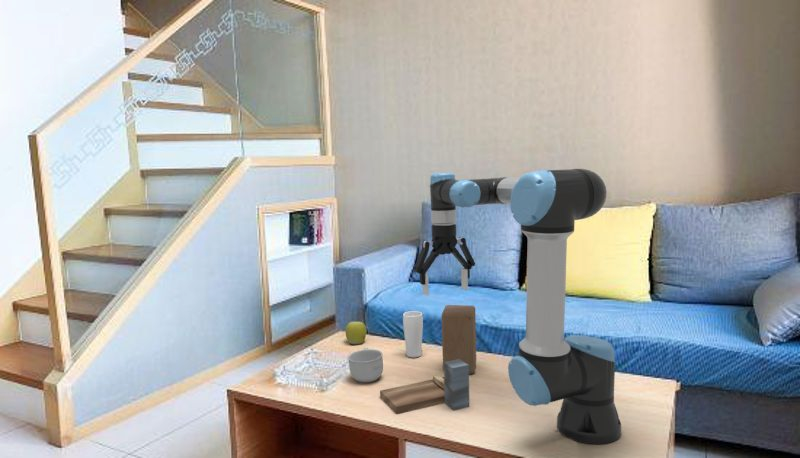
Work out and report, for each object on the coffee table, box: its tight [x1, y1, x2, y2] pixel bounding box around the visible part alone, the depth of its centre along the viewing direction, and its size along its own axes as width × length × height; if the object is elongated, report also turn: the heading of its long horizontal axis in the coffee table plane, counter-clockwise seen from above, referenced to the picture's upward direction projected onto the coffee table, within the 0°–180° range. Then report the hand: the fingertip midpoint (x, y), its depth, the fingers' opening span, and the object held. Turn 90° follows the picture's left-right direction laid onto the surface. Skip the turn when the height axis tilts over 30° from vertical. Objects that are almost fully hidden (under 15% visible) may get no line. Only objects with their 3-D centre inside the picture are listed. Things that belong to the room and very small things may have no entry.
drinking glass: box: [402, 310, 424, 359], centre depth 194 cm, size 7×7×15 cm
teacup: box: [347, 347, 384, 384], centre depth 177 cm, size 14×11×8 cm
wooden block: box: [441, 304, 477, 375], centre depth 180 cm, size 10×10×20 cm
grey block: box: [431, 359, 470, 411], centre depth 159 cm, size 16×5×12 cm, turn 24°
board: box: [379, 376, 445, 415], centre depth 161 cm, size 12×22×2 cm, turn 114°
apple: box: [345, 317, 367, 345], centre depth 210 cm, size 8×8×10 cm
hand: (445, 292), depth 173 cm, fingers open, 13 cm apart
